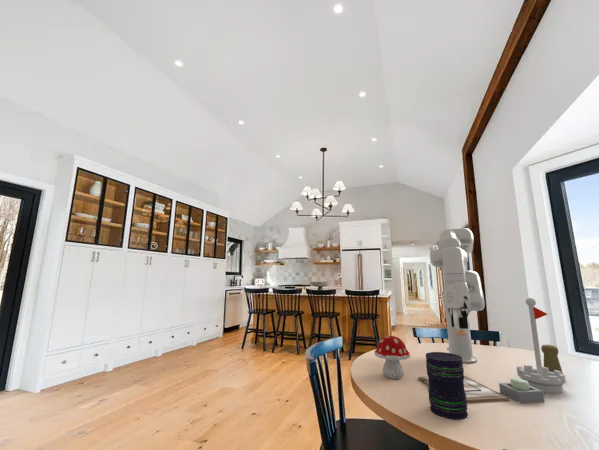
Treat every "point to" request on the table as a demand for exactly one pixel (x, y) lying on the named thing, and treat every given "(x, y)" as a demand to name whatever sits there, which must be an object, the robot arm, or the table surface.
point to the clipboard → (475, 391)
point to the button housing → (522, 393)
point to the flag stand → (541, 375)
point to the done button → (519, 384)
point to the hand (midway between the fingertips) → (459, 327)
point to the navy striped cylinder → (446, 385)
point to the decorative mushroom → (392, 356)
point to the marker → (456, 323)
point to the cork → (551, 358)
